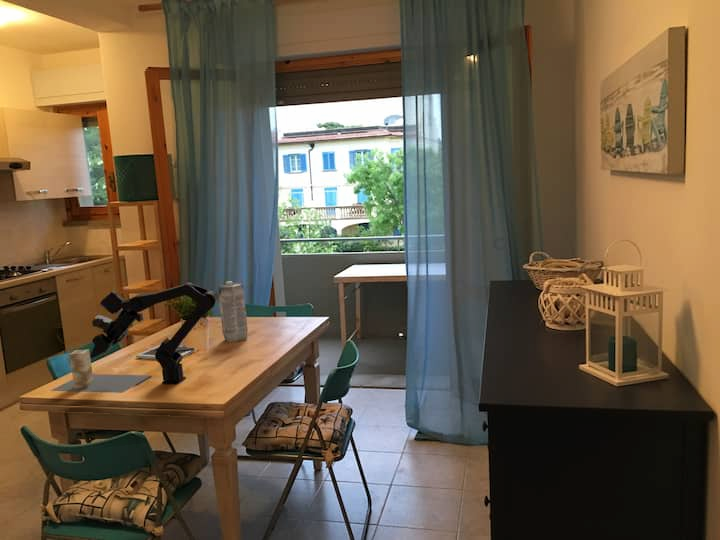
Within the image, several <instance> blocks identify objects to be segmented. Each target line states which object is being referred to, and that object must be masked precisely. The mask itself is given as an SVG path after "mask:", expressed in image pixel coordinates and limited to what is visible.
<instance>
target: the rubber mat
mask: <svg viewBox="0 0 720 540" xmlns="http://www.w3.org/2000/svg"><path fill="white" fill-rule="evenodd" d="M92 374H93V381H94V383H93V384H92V385H91V386H90V387H88V388H76V389H74V382H73V379H71V380H69V381H67V382H64V383H62V384H61V385H58V386H57V387H55V388H53V389H51V390H50V391H51V392H52V391H53V392H54V391H55V392H56V391H57V392H85V393H87V392H88V393H91V392H92V393H118V394H119V393H121V394H122V393H125V392H126V391H128V390H129V389H131V388H132V387H133V388H135V387H137V386H139V385H141V384H142V383H143V382H146V381H147V380H149V379H151V378H152V377H153V376H152V374H151V375H150V374H146V375H145V374H110V373H109V374H108V373H107V374H105V373H104V374H103V373H99V374H98V373H92ZM133 388H132V389H133Z"/></svg>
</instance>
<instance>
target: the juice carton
mask: <svg viewBox="0 0 720 540" xmlns="http://www.w3.org/2000/svg"><path fill="white" fill-rule="evenodd" d="M217 290H218V296H219V301H218V303H219V310H220V312H219V313H220V321H221V330H222V335H223V337H224V340H225V341H226V342H228V343H233V342H234V343H235V342H240V341H245V340H247V339H248V319H247V309H246V302H245V301H246V299H245V292H244V285H243V284H241V283H239V282H234V283H233V281H232V280H230V281H229V280H228V281H226V282H225V284H219V285H218V289H217Z"/></svg>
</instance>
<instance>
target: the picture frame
mask: <svg viewBox="0 0 720 540" xmlns="http://www.w3.org/2000/svg"><path fill="white" fill-rule="evenodd" d="M160 345H161V344H159V345H157V346H154V347H152V348H150V349H148V350H146V351H143V352H141V353H138V354H136V355H135V358H142V359H141V360H148V359H155V353H156V352H157V351H156V349H157V348H158V347H159V346H160ZM185 346H186V345H180V346H179V348H178V350H177V352H178V353H179V354H181V355H182V356H183V357H184V358H186V357H188V356H190V355H189V354H191V353H193V352H194V351H195V350H194V348H187V347H185ZM193 354H194V353H193ZM187 355H188V356H187ZM191 355H192V354H191ZM185 356H186V357H185ZM183 357H182V359H184V358H183Z"/></svg>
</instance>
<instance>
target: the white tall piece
mask: <svg viewBox="0 0 720 540" xmlns="http://www.w3.org/2000/svg"><path fill="white" fill-rule="evenodd" d="M90 355H91V353H90V349H89V348H88V349H76V350H73V351H72V352H70V353H69V361H70V367H71V374H72V380H73V382H74V389H76V388H88V387H90V386H91V385H92V384H93V383H94V381H93V374H94V373H93V367H92V362H91V359H92V358H91V357H90Z"/></svg>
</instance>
